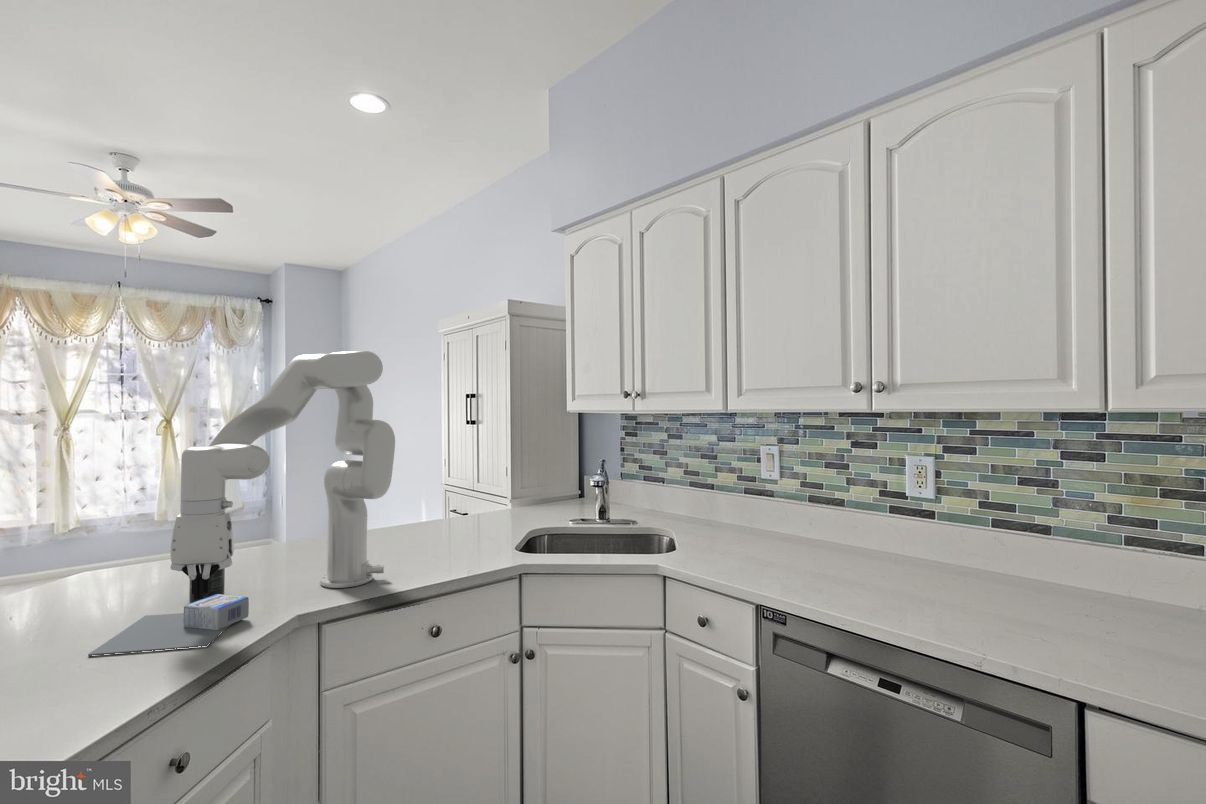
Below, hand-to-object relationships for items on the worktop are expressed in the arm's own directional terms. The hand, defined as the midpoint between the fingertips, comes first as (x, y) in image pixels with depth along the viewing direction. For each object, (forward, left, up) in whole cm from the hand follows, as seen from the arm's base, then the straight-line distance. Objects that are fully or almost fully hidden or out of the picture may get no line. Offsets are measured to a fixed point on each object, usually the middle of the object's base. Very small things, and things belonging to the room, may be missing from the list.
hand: (201, 597), depth 119 cm
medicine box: (-6, -1, -4) cm, 7 cm away
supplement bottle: (+6, -20, -7) cm, 22 cm away
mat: (+5, 0, -7) cm, 8 cm away
